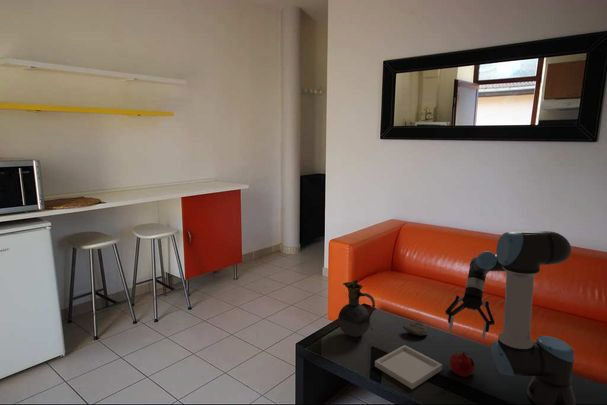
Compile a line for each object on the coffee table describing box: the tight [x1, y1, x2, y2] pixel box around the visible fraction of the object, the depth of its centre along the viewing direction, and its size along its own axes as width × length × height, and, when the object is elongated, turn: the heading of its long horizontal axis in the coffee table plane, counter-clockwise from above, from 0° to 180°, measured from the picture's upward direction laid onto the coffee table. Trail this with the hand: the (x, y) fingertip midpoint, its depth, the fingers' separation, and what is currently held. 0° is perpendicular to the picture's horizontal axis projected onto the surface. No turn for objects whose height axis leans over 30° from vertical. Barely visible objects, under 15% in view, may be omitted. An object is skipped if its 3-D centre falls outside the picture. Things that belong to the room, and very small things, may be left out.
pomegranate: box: [448, 350, 476, 378], centre depth 162 cm, size 10×10×9 cm
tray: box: [374, 344, 443, 390], centre depth 167 cm, size 20×20×2 cm
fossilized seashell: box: [402, 321, 428, 337], centre depth 194 cm, size 11×11×7 cm
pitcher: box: [337, 279, 376, 341], centre depth 190 cm, size 11×19×30 cm, turn 53°
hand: (466, 334), depth 168 cm, fingers open, 13 cm apart
